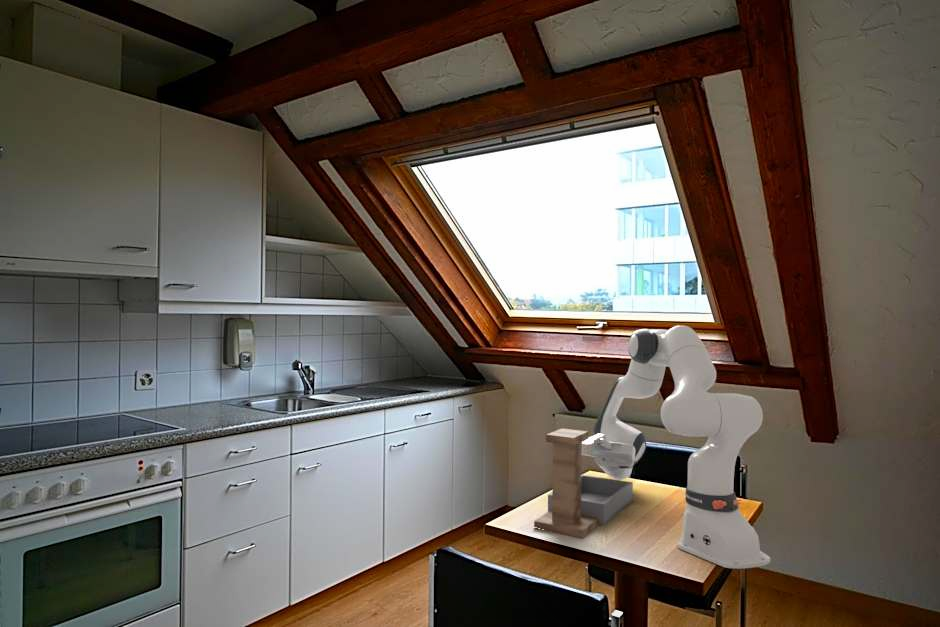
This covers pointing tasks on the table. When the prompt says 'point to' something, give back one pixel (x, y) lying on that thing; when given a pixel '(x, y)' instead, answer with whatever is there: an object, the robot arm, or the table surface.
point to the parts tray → (602, 497)
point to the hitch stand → (567, 486)
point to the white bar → (592, 443)
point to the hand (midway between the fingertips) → (595, 440)
